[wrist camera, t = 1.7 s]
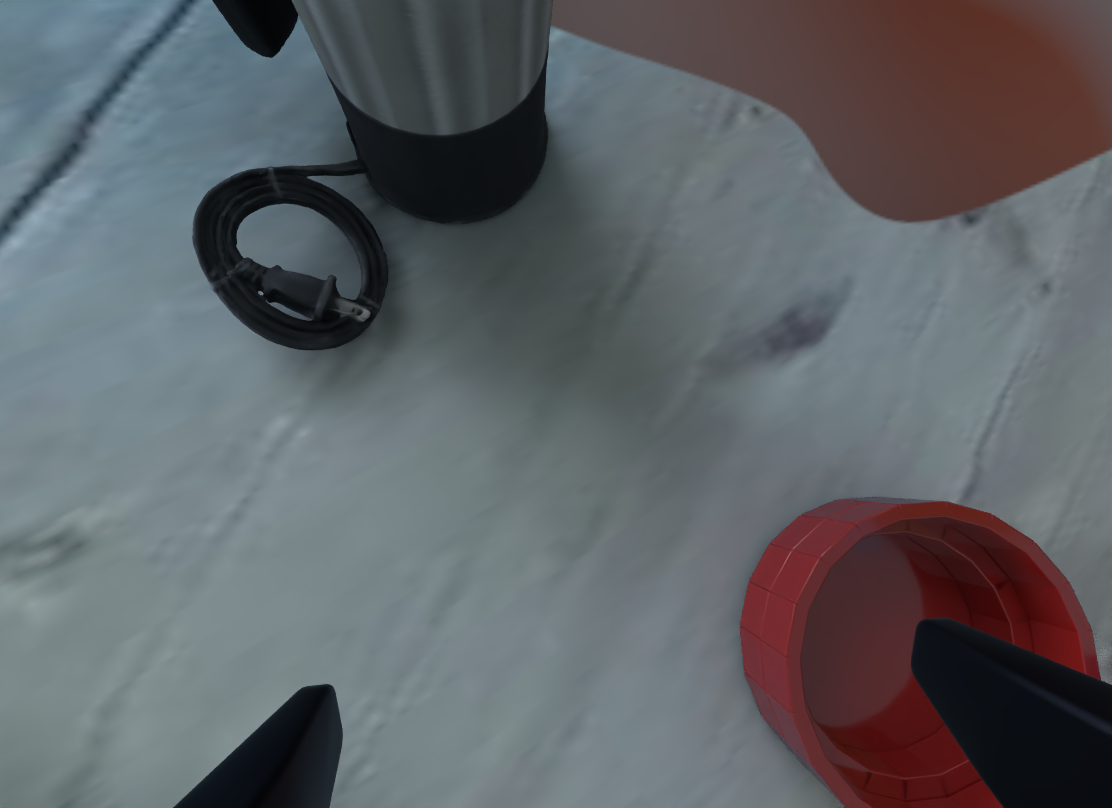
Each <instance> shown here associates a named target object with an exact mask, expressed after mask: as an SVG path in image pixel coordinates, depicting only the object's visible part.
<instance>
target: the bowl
mask: <svg viewBox="0 0 1112 808" xmlns="http://www.w3.org/2000/svg"><path fill="white" fill-rule="evenodd" d="M749 581H750V582H749V583H748V587H747V592H746V597H745V602H744V607H743V612H742V617H741V622H740V625H741V626H740V633H741V644H742V654H743V664H744V671H745V672H744V673H745V676H746V678H747V681H748V683H749V686H750V688H751V691H752V693H753V696H754V698H755V701H756V703H757V706H758V708H759V711H760V713H761V715H762V716H763V718H764V720H765V721H766V722H767V723H768V725H769V726H770V727H771V728H772V729H773V731H774V732H775V733H776V734H777V736H778V737H779V738H780V739H781V741H782V742H783V743H784V744H785V746H786V747H787V748H788V749H789V750H790V752H791V753H792V754H793V755H794V756H795V757H796V758H797V759H798V760H799V761H800V762H801V763H802V764H803V765H804V766H805V767H806V768H807V769H808V770H809V771H810V772H811V773H812V774H813V775H814V776H815V777H816V778H817V779H818V780H819V781H820V782H821V783H822V784H823V785H824V786H825V787H826V788H827V789H828V790H829V791H830V793H831V794H832V795H833V796H834V797H835V798H836V799H837V800H838V801H839V802H840V803H841V804H842V805H843V806H844V807H845V808H1003V807H1002V805H1001V804H1000V803H999V801H998V800H997V799H996V797H995V796H994V795H993V793H992V792H991V791H990V789H989V788H988V787H987V785H986V784H985V783H984V781H983V780H982V779H981V777H980V776H979V774H978V773H977V771H976V770H975V768H974V767H973V766H972V764H971V763H970V761H969V760H968V758H967V757H966V755H965V754H964V752H963V751H962V749H961V747H960V746H959V744H958V743H957V741H956V740H955V738H954V737H953V735H952V734H951V732H950V731H949V729H948V728H947V726H946V725H945V723H944V722H943V720H942V719H941V717H940V716H939V714H938V713H937V711H936V710H935V708H934V707H933V705H932V704H931V702H930V701H929V699H928V698H927V696H926V695H925V693H924V692H923V690H922V689H921V687H920V686H919V684H918V683H917V681H916V679H915V677H914V675H913V672H912V669H911V656H912V649H913V643H914V637H915V631H916V626H917V624H918V623H919V622H920V621H921V620H923V619H931V618H940V617H946V618H950V619H953V620H956V621H958V622H960V623H963V624H965V625H968V626H970V627H972V628H975V629H977V630H980V631H982V632H985V633H987V634H989V635H992V636H994V637H997V638H999V639H1002V640H1004V641H1006V642H1009V643H1011V644H1014V645H1016V646H1018V647H1021V648H1023V649H1026V650H1028V651H1031V652H1033V653H1035V654H1038V655H1040V656H1043V657H1045V658H1048V659H1050V660H1052V661H1055V662H1057V663H1060V664H1062V665H1064V666H1067V667H1069V668H1072V669H1074V670H1077V671H1079V672H1081V673H1084V674H1086V675H1089V676H1091V677H1094V678H1096V679H1098V680H1101V678H1100V672H1099V667H1098V661H1097V655H1096V650H1095V644H1094V639H1093V633H1092V630H1091V626H1090V624H1089V622H1088V620H1087V618H1086V616H1085V614H1084V612H1083V610H1082V607H1081V605H1080V603H1079V601H1078V599H1077V597H1076V595H1075V593H1074V590H1073V588H1072V586H1071V584H1070V582H1069V581H1068V580H1067V579H1066V577H1065V576H1064V575H1063V574H1062V573H1061V572H1060V570H1059V569H1058V568H1057V567H1056V566H1055V565H1054V563H1053V562H1052V561H1051V560H1050V559H1049V558H1048V557H1047V555H1046V554H1045V553H1044V552H1043V551H1042V550H1041V548H1040V547H1039V546H1038V545H1037V544H1036V543H1035V542H1034V541H1033V540H1031V539H1030V538H1028V537H1027V536H1025V535H1024V534H1022V533H1021V532H1019V531H1017V530H1016V529H1014V528H1013V527H1011V526H1010V525H1008V524H1007V523H1005V522H1004V521H1002V520H1000V519H999V518H997V517H996V516H994V515H992V514H990V513H987V512H983V511H980V510H976V509H972V508H969V507H965V506H961V505H958V504H954V503H950V502H947V501H934V500H918V499H902V498H887V497H864V498H849V499H839V500H834V501H832V502H830V503H827V504H825V505H823V506H820V507H818V508H816V509H813V510H811V511H809V512H806V513H804V514H802V515H801V516H799V517H798V518H797V519H795V520H794V521H793V522H792V523H791V524H790V525H789V526H788V527H787V528H786V529H785V530H783V531H782V532H781V533H780V534H779V535H778V536H777V537H776V538H775V539H774V540H773V541H772V542H771V543H770V544H769V545H768V547H767V549H766V551H765V552H764V554H763V556H762V558H761V560H760V561H759V563H758V565H757V567H756V569H755V570H754V572H753V574H752V576H751V578H750V580H749Z"/></svg>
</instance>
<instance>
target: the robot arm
mask: <svg viewBox="0 0 1112 808" xmlns="http://www.w3.org/2000/svg"><path fill="white" fill-rule="evenodd" d="M911 669H912V672H913V675H914V677H915V679H916V681H917V683H918V684H919V686H920V687H921V689H922V690H923V692H924V693H925V695H926V696H927V698H928V699H929V701H930V702H931V704H932V705H933V707H934V708H935V710H936V711H937V713H938V714H939V716H940V717H941V719H942V720H943V722H944V723H945V725H946V726H947V728H948V729H949V731H950V732H951V734H952V735H953V737H954V738H955V740H956V741H957V743H958V744H959V746H960V747H961V749H962V751H963V752H964V754H965V755H966V757H967V758H968V760H969V761H970V763H971V764H972V766H973V767H974V768H975V770H976V771H977V773H978V774H979V776H980V777H981V779H982V780H983V781H984V783H985V784H986V785H987V787H988V788H989V789H990V791H991V792H992V793H993V795H994V796H995V797H996V799H997V800H998V801H999V803H1000V804H1001V805H1002V807H1003V808H1112V685H1110V684H1108V683H1106V682H1103V681H1101V680H1098V679H1096V678H1094V677H1091V676H1089V675H1086V674H1084V673H1081V672H1079V671H1077V670H1074V669H1072V668H1069V667H1067V666H1064V665H1062V664H1060V663H1057V662H1055V661H1052V660H1050V659H1048V658H1045V657H1043V656H1040V655H1038V654H1035V653H1033V652H1031V651H1028V650H1026V649H1023V648H1021V647H1018V646H1016V645H1014V644H1011V643H1009V642H1006V641H1004V640H1002V639H999V638H997V637H994V636H992V635H989V634H987V633H985V632H982V631H980V630H977V629H975V628H972V627H970V626H968V625H965V624H963V623H960V622H958V621H956V620H953V619H950V618H946V617H940V618H931V619H923V620H921V621H920V622H919V623H918V624H917V626H916V631H915V637H914V643H913V649H912V656H911ZM342 739H343V731H342V724H341V719H340V713H339V708H338V703H337V698H336V693H335V690H334V688H333V686H331V685H329V684H323V685H314V686H306V687H303V688H301V689H300V690H299V691H297V692H296V693H295V694H294V695H293V696H292V697H291V698H290V699H289V700H288V701H287V702H286V703H284V704H283V705H282V706H281V707H280V708H279V709H278V710H277V711H276V712H275V713H274V714H273V715H272V716H271V717H269V718H268V719H267V720H266V721H265V722H264V723H263V724H262V725H261V726H260V727H259V728H258V729H257V730H256V731H255V732H253V733H252V734H251V735H250V736H249V737H248V738H247V739H246V740H245V741H244V742H243V743H242V744H241V745H240V746H239V747H237V748H236V749H235V750H234V751H233V752H232V753H231V754H230V755H229V756H228V757H227V758H226V759H225V760H224V761H222V762H221V763H220V764H219V765H218V766H217V767H216V768H215V769H214V770H213V771H212V772H211V773H210V774H209V775H208V776H206V777H205V778H204V779H203V780H202V781H201V782H200V783H199V784H198V785H197V786H196V787H195V788H194V789H193V790H192V791H190V792H189V793H188V794H187V795H186V796H185V797H184V798H183V799H182V800H181V801H180V802H179V803H178V804H177V805H175V806H174V807H173V808H329V807H330V802H331V797H332V792H333V787H334V782H335V777H336V773H337V768H338V763H339V758H340V753H341V748H342Z"/></svg>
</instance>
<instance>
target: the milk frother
mask: <svg viewBox="0 0 1112 808" xmlns="http://www.w3.org/2000/svg"><path fill="white" fill-rule="evenodd" d="M212 1H213V2H214V3H215V5H216V6H217V8H218V10H219V11H220V12H221V14H222V15H223V16H224V18H225V19H226V21H227V22H228V23H229V25H230V26H231V28H232V29H233V30H234V32H235V33H236V34H237V36H238V37H239V38H240V40H241V41H242V42H243V43H244V44H245V45H246V46H247V47H248V48H250V49H251V50H252V51H254V52H256V53H258V54H260V55H262V56H265V57H270V58H272V57H274V56H275V55H276V54H277V53H278V52H279V51H280V49H281V47H282V46H283V45H284V44H285V42H286V40H287V39H288V37H289V36H290V34H291V33H292V31H293V29H294V27H295V24H296V22H297V19H298V14H299V16H300V19H301V21H302V23H303V25H304V27H305V29H306V31H307V33H308V35H309V37H310V39H311V42H312V44H313V46H314V48H315V50H316V52H317V54H318V56H319V58H320V60H321V62H322V64H323V67H324V69H325V71H326V73H327V76H328V78H329V80H330V82H331V84H332V86H333V88H334V90H335V93H336V95H337V97H338V100H339V102H340V104H341V106H342V109H343V111H344V114H345V116H346V118H347V122H346V126H347V129H348V132H349V135H350V137H351V141H352V143H353V144H354V147H355V151H356V155H357V160H353V161H349V162H345V163H339V164H331V165H312V166H283V167H267V168H257V169H251V170H246V171H243V172H240V173H237V174H235V175H233V176H231V177H229V178H227V179H225V180H224V181H222V182H220V183H219V184H217V185H216V186H215V187H213V188H212V189H211V190H209V191H208V193H207V194H206V195H205V196H204V197H203V199H202V201H201V202H200V204H199V206H198V208H197V210H196V213H195V216H194V221H193V237H192V238H193V245H194V248H195V251H196V254H197V257H198V260H199V263H200V266H201V268H202V270H203V272H204V274H205V276H206V277H207V279H208V281H209V283H210V286H211V289H212V290H213V291H214V292H215V293H216V294H217V295H218V296H219V298H220V299H221V301H222V302H223V303H224V304H225V305H226V306H227V308H228V309H229V310H230V311H231V312H232V313H233V315H234V316H235V317H236V318H238V319H239V320H240V321H241V322H242V323H243V324H244V325H246V326H247V327H248V328H250V329H251V330H252V331H253V332H255V333H257V334H258V335H260V336H262V337H264V338H265V339H267V340H269V341H272V342H274V343H277V344H280V345H283V346H286V347H289V348H294V349H299V350H325V349H331V348H337V347H339V346H341V345H344V344H346V343H348V342H350V341H352V340H353V339H355V338H356V337H358V336H359V335H360V334H361V333H362V332H364V331H365V330H366V329H367V328H368V327H369V326H370V324H371V323H372V321H373V320H374V319H375V317H376V315H377V313H378V312H379V310H380V308H381V304H382V301H383V298H384V295H385V289H386V287H387V282H388V265H387V259H386V254H385V252H384V251H383V247H382V244H381V241H380V239H379V237H378V235H377V233H376V231H375V229H374V227H373V226H372V224H371V223H370V221H369V220H368V219H367V218H366V217H365V215H364V214H363V213H362V212H361V211H360V210H359V209H358V208H357V207H356V206H355V205H354V204H353V203H352V202H351V201H349V200H348V199H346V198H345V197H343V196H342V195H340V194H339V193H337V192H336V191H334V190H333V189H331V188H329V187H327V186H325V185H323V184H321V183H318V182H316V181H313V180H311V179H308V178H307V177H308V176H323V175H327V176H348V175H355V174H362V173H365V175H366V177H367V179H368V180H369V181H370V183H371V184H372V185H373V187H374V188H375V189H376V190H377V191H378V192H379V193H380V194H381V195H382V196H383V197H384V198H385V199H386V200H388V201H389V202H390V203H391V204H393V205H394V206H396V207H398V208H400V209H401V210H403V211H405V212H407V213H409V214H411V215H413V216H415V217H418V218H421V219H425V220H429V221H434V222H438V223H469V222H474V221H478V220H482V219H486V218H489V217H492V216H495V215H496V214H498V213H501V212H502V211H504V210H506V209H508V208H509V207H511V206H512V205H513V204H515V203H516V202H517V201H518V200H519V199H521V198H522V196H523V195H524V194H525V193H526V192H527V191H528V190H529V189H530V188H531V186H532V185H533V183H534V182H535V180H536V178H537V176H538V175H539V173H540V170H541V168H542V166H543V163H544V160H545V156H546V151H547V142H548V128H547V122H546V116H545V112H544V107H545V86H546V67H547V58H548V48H549V34H550V25H551V17H552V5H553V0H212ZM352 134H353V135H352ZM275 204H296V205H300V206H304V207H308V208H311V209H313V210H315V211H317V212H318V213H320V214H322V215H323V216H325V217H327V218H328V219H329V220H330V221H332V222H333V223H334V224H335V225H336V226H337V227H338V228H339V229H340V230H341V231H342V232H343V233H344V235H345V236H346V237H347V238H348V240H349V241H350V243H351V244H352V246H353V248H354V250H355V252H356V254H357V257H358V259H359V263H360V268H361V276H362V282H361V289H360V293H359V295H358V297H357V299H356V300H350V299H346V298H343V297H341V296H340V294H339V293H338V291H337V288H336V277H335V276H333V275H330V276H328V279H327V280H321V279H318V278H315V277H312V276H309V275H305V274H300V273H295V272H290V271H285V270H283V269H282V268H281V267H280V266H278V265H276V266H274V267H272V268H267V267H264V266H262V265H260V264H258V263H256V262H254V261H253V260H252V259H250V258H243V257H242V256H241V254H240V252H239V251H238V249H237V247H236V245H237V238H236V235H237V230H238V227H239V225H240V223H241V222H242V221H243V219H244V218H245V217H247V216H248V215H249V214H251V213H253V212H255V211H257V210H259V209H261V208H263V207H266V206H269V205H275ZM258 291H262V292H263V293H264V294H263V296H262V295H259V294H258ZM266 300H267V302H269V303H272V302H277V303H280V304H282V305H284V306H285V307H287V308H289V309H291V310H293V311H295V312H297V313H300V314H302V315H304V316H306V317H308V318H311V319H312V320H311V321H307V320H302V319H298V318H295V317H292V316H289V315H287V314H285V313H283V312H281V311H280V310H278V309H276V308H274V307H273V306H271V305H270V304H268V303H267V302H266Z"/></svg>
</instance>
